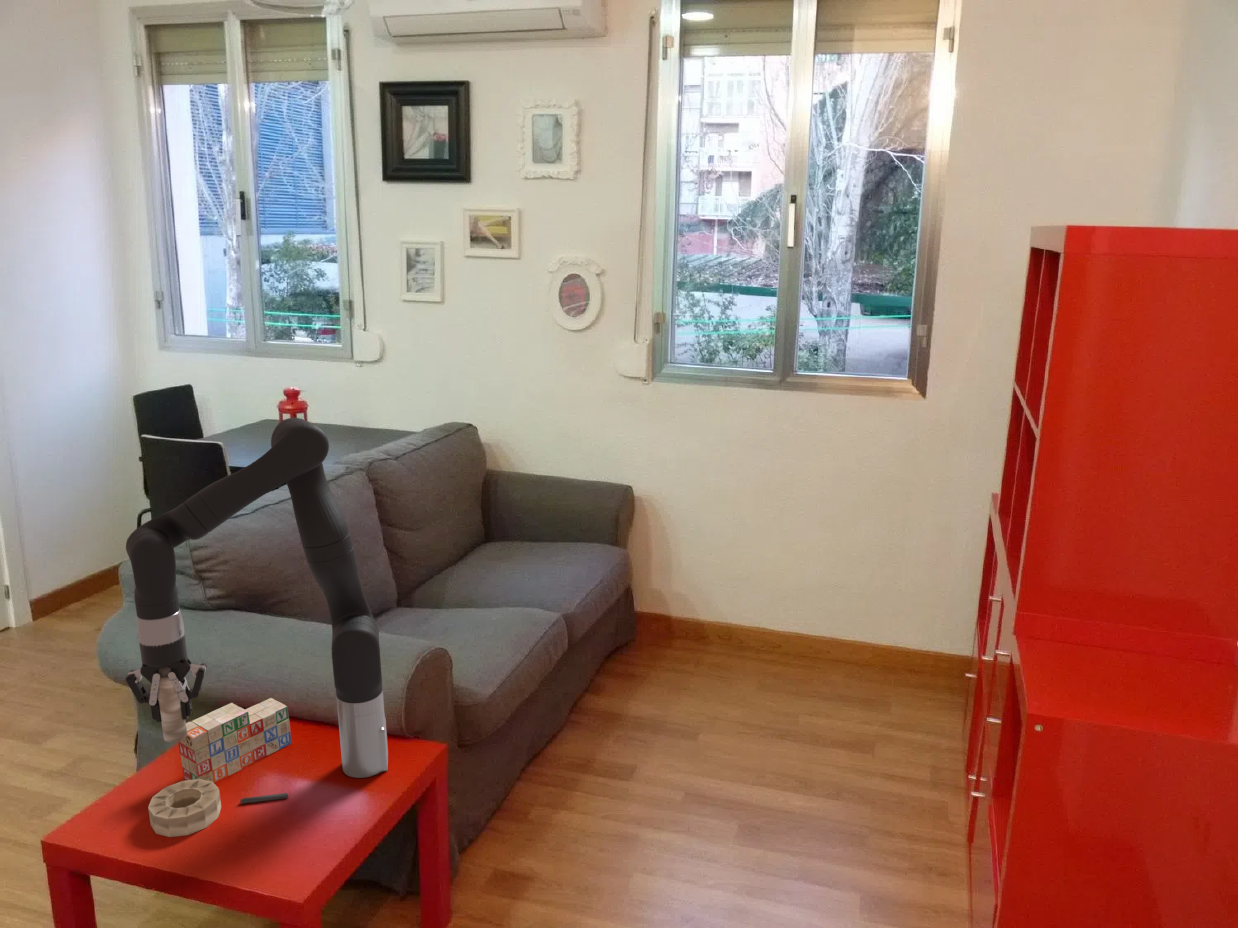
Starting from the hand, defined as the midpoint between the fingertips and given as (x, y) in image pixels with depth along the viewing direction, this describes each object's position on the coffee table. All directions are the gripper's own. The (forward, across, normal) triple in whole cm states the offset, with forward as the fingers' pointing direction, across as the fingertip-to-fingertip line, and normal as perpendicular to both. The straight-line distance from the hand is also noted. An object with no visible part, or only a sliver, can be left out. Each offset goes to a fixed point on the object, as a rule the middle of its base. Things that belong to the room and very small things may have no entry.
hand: (173, 718), depth 174 cm
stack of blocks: (+22, -7, -18) cm, 29 cm away
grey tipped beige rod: (+4, 0, 0) cm, 4 cm away
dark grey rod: (+21, -14, -2) cm, 26 cm away
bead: (+21, 0, 0) cm, 21 cm away
